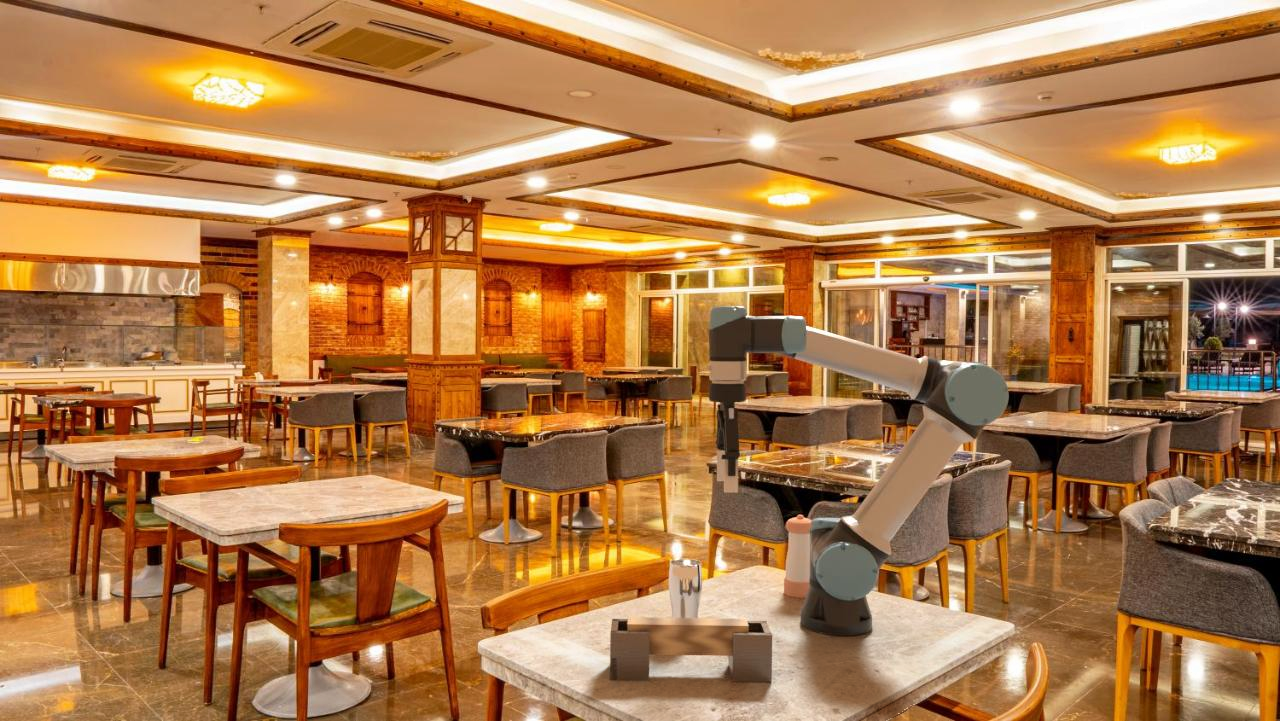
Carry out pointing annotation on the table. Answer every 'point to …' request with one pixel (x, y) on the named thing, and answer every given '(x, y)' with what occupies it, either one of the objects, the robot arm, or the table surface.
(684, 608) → the shiny metal tumbler
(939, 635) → the table surface
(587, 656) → the table surface
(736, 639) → the brackets
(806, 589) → the pepper shaker
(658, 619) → the rail
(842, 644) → the table surface
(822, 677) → the table surface
